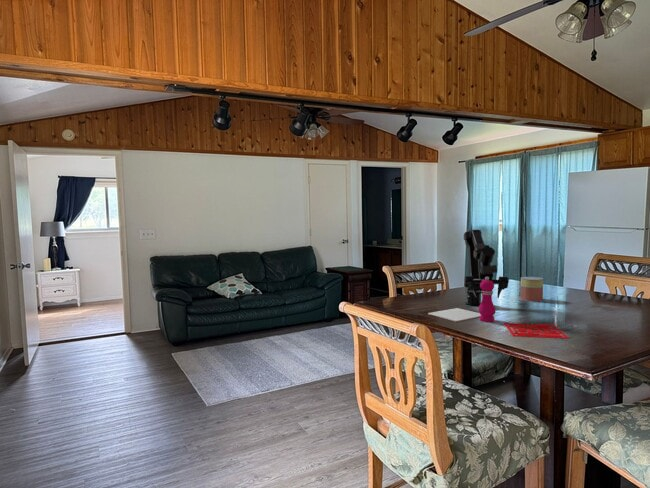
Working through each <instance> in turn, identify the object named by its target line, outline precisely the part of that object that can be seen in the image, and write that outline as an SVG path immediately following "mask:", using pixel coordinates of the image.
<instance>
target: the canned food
mask: <svg viewBox="0 0 650 488" xmlns="http://www.w3.org/2000/svg"><path fill="white" fill-rule="evenodd" d="M519 299H520V300H521V301H523V300H524V302H529V301H532V302H531V303H539V302H538V301H541V302H543V301H544V278H543V277H539V276H521V277H520V297H519Z"/></svg>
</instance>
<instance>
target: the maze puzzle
mask: <svg viewBox="0 0 650 488" xmlns="http://www.w3.org/2000/svg"><path fill="white" fill-rule="evenodd" d="M503 324H504V325H505V327H506V328H507V330H508V331H509V332H510V335H512V337H517V338H518V337H519V338H522V337H523V338H542V339H570V337H569V336H568V335H567V334H566V333H564V332H563V331H562V330H561V329H560V328H558V327H557V326H556V325H555V324H544V323H543V324H539V323H529V324H528V323H515V322H514V323H513V322H512V323H511V322H504V323H503Z"/></svg>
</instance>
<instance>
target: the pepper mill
mask: <svg viewBox="0 0 650 488" xmlns="http://www.w3.org/2000/svg"><path fill="white" fill-rule="evenodd" d="M480 288H481V289H482V290H481V304H480V305H478V313H480V314H481V315H480V317H479V321H480V322H484V323H493V322H495V314H496V311H497V310H496V308H495V305H494V303H493V297H492V295H493V294H494V289H495V284H494V283H493V282H492V281H491V280H489V277H488V276H486V277H485V280H483V281H482V282H481V283H480Z"/></svg>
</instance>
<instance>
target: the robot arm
mask: <svg viewBox="0 0 650 488" xmlns="http://www.w3.org/2000/svg"><path fill="white" fill-rule="evenodd" d="M482 236H483V235H482V230H481V229H471V230H468V231H466V232H464V233H463V241H464V245H466V247H467V249H468V259H469V260H468V261H469V275H466V276H465V277H464V288H465V293H466V294H467V302H466V303H465V305H469V306H474V307H476V306H478V307H479V306H480V304H481V302H482V294H481V290H482V289H481V288H480V283H481V282H482V281H483V280H485V277H486V276H488V277H489V280H491V281H492V282H493V283H494V285H497V299H499V297H500V294H501V293H502V290H503V291H504V290H506V289H508V287H509V282H510V281H509V277H508V276H498V279H493V278H494V274H496V273H498V266H497V264H492V263H493V261H494V258H495V253H496V250H495V249H494V248H493V247H491V246H490V245H489V244H485V242H484V239H483V237H482Z"/></svg>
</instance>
